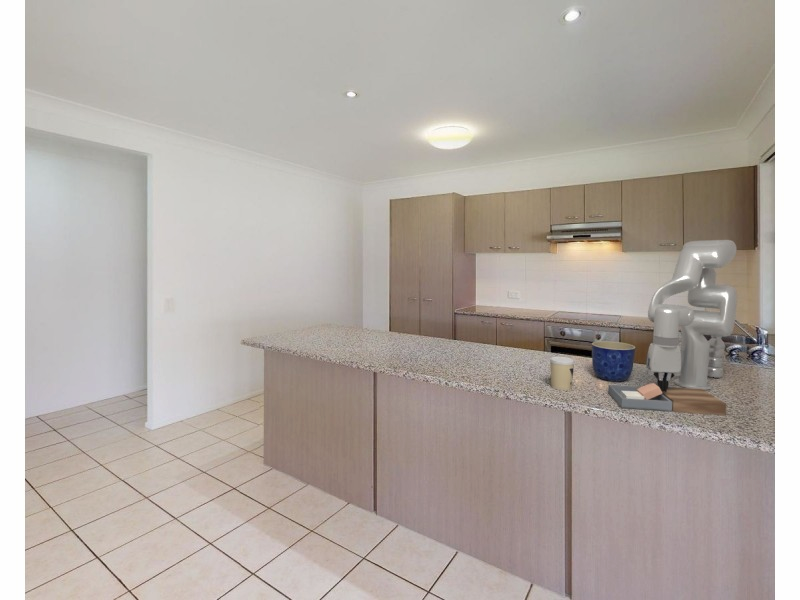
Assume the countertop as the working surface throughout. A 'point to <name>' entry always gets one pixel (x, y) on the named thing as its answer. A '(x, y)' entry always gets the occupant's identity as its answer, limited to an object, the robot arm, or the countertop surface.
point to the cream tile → (632, 395)
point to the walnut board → (694, 401)
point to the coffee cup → (561, 372)
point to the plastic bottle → (715, 356)
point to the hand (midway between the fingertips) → (662, 390)
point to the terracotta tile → (650, 391)
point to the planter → (612, 360)
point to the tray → (639, 400)
